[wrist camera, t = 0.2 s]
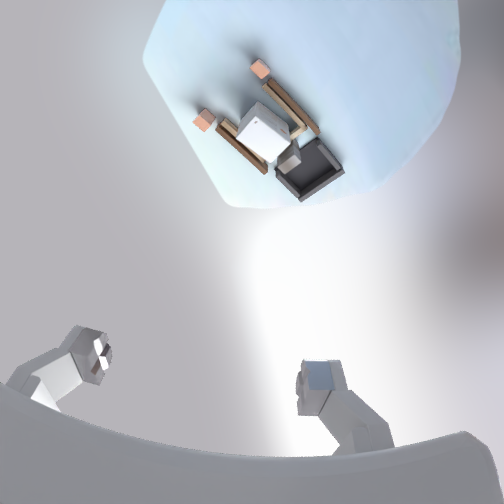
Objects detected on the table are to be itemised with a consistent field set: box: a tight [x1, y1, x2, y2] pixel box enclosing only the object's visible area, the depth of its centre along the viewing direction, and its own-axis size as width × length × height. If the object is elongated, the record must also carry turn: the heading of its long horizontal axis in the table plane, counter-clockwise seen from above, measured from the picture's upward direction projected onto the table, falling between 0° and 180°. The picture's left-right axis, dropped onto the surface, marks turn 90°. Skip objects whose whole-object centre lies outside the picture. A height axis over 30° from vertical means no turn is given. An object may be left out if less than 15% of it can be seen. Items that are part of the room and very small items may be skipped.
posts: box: [193, 58, 270, 132], centre depth 48 cm, size 17×3×5 cm, turn 134°
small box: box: [236, 101, 291, 163], centre depth 50 cm, size 8×6×10 cm
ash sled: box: [221, 83, 308, 174], centre depth 51 cm, size 12×14×9 cm
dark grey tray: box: [274, 137, 345, 202], centre depth 60 cm, size 12×9×3 cm
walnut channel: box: [215, 78, 321, 175], centre depth 53 cm, size 15×14×3 cm
